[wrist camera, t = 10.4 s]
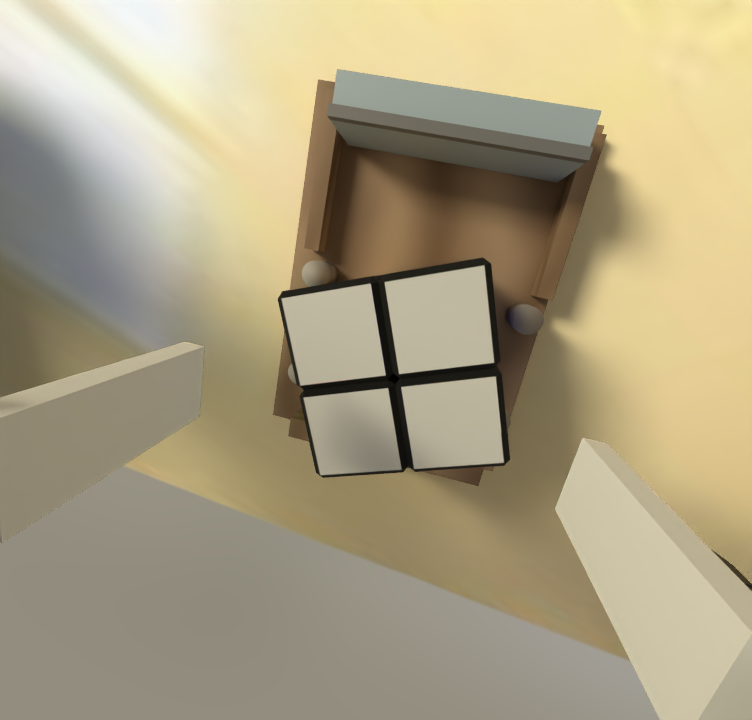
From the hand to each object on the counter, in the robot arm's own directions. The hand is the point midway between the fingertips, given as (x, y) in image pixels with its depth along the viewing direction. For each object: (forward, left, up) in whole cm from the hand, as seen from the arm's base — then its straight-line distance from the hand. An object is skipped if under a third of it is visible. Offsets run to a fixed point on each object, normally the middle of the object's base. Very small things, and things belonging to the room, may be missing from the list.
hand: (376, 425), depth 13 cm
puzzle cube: (0, 0, -15) cm, 15 cm away
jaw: (0, +13, -15) cm, 20 cm away
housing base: (0, +3, -16) cm, 17 cm away
